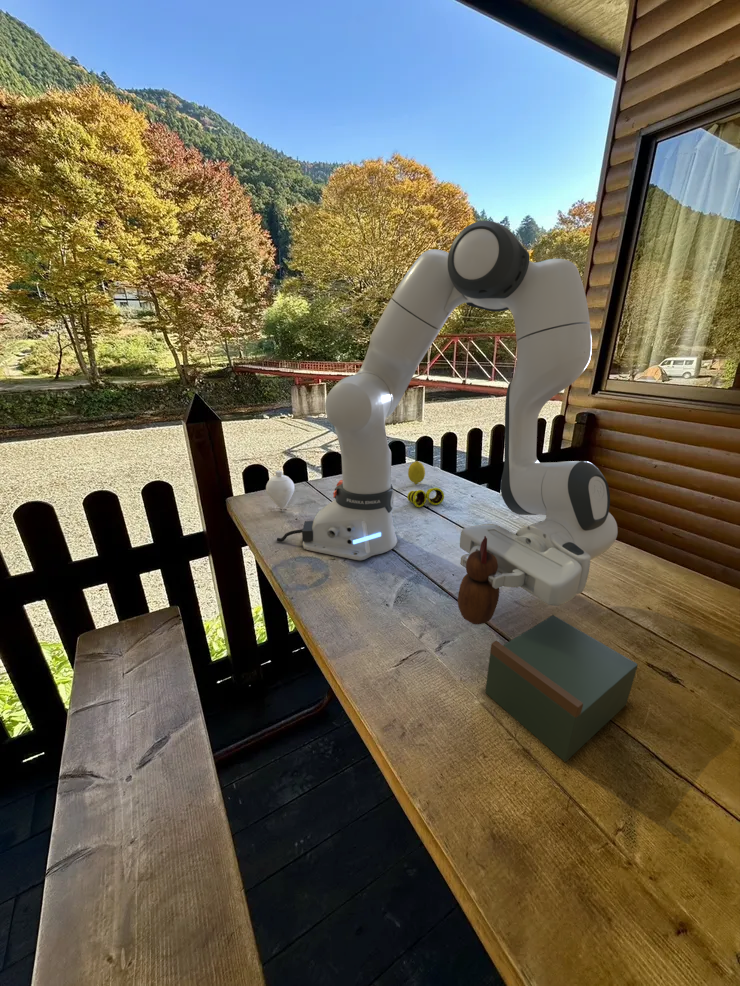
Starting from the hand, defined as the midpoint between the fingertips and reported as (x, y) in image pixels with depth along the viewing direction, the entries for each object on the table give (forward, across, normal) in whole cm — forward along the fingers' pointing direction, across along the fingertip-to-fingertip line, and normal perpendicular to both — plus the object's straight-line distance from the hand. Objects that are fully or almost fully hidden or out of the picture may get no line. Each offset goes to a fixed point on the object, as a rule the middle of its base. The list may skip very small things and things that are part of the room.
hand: (477, 572), depth 62 cm
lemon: (-35, -65, +14) cm, 75 cm away
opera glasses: (-28, -50, +13) cm, 59 cm away
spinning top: (+10, -65, +14) cm, 68 cm away
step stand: (-2, +14, +13) cm, 19 cm away
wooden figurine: (-1, 0, +9) cm, 9 cm away
